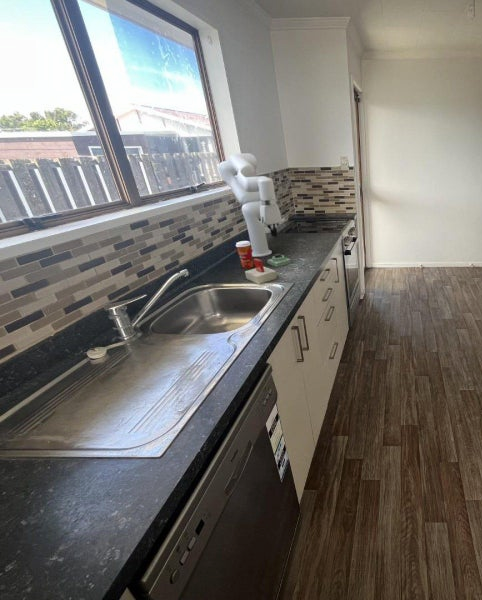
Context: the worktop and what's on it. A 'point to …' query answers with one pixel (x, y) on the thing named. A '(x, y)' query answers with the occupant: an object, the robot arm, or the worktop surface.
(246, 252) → the paper cup
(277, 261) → the switch block
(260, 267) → the tap handle
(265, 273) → the block
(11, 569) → the worktop surface
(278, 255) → the button
